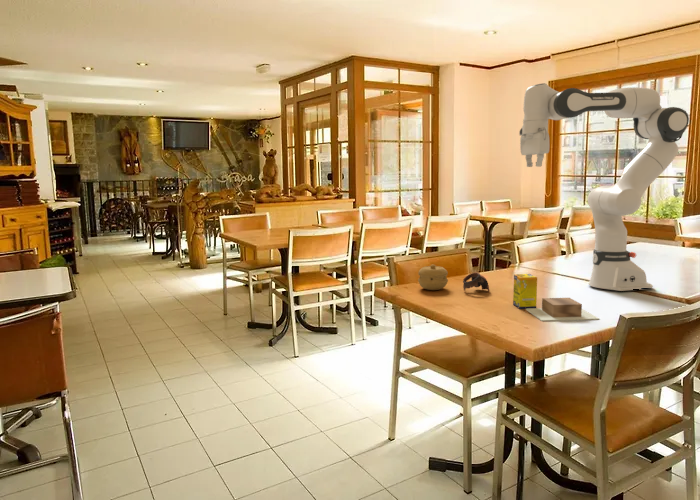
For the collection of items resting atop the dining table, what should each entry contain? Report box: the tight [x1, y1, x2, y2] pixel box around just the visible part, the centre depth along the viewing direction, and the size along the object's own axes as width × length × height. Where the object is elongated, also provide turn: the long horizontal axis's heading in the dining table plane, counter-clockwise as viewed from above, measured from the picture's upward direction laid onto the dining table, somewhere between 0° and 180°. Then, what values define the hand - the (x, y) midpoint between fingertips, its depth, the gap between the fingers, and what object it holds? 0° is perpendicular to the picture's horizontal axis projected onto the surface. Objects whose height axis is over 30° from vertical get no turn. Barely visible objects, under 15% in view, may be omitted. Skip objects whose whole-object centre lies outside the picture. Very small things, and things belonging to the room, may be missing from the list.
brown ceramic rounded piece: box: [462, 271, 491, 293], centre depth 205 cm, size 12×9×8 cm
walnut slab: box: [541, 297, 583, 317], centre depth 169 cm, size 9×9×4 cm
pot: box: [417, 264, 449, 291], centre depth 210 cm, size 12×12×10 cm
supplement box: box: [512, 273, 538, 310], centre depth 179 cm, size 6×6×11 cm
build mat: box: [525, 307, 600, 322], centre depth 169 cm, size 18×14×1 cm
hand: (534, 166), depth 197 cm, fingers open, 8 cm apart
